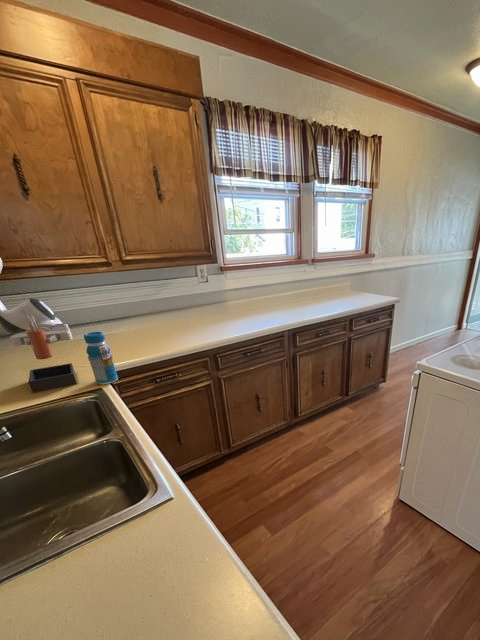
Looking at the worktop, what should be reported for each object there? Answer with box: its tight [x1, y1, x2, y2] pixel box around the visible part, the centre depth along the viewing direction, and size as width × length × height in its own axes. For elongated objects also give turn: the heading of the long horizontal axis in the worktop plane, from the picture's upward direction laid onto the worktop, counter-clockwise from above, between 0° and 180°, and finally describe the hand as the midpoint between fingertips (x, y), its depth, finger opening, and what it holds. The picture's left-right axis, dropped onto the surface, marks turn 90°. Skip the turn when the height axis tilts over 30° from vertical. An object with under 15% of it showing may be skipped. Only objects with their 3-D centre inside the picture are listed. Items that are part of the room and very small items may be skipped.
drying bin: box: [27, 362, 78, 393], centre depth 133 cm, size 15×15×5 cm
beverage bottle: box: [83, 331, 119, 385], centre depth 131 cm, size 8×8×20 cm
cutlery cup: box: [26, 316, 54, 360], centre depth 127 cm, size 6×6×17 cm
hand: (38, 342), depth 127 cm, fingers closed on cutlery cup, 5 cm apart
